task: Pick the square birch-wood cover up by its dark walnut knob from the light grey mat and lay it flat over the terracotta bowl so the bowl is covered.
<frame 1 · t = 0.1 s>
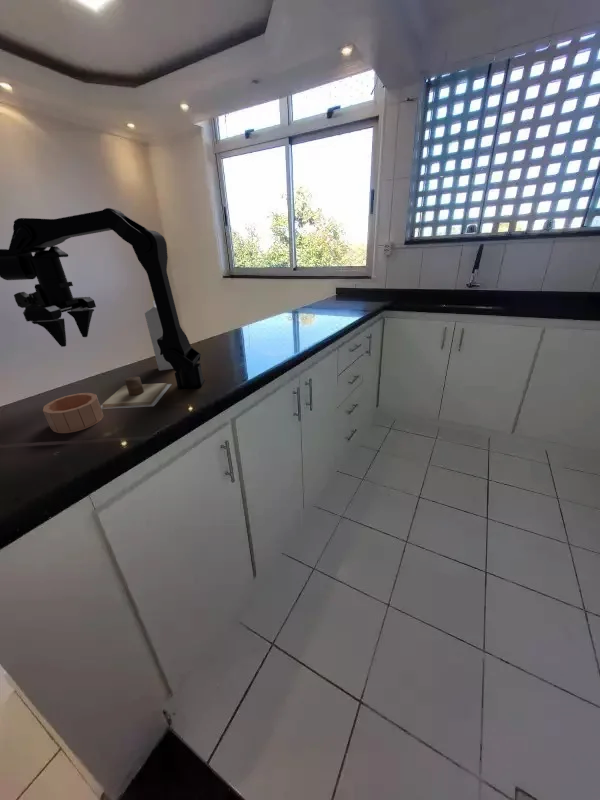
hand: (75, 341, 82), 15 cm above the table, tool pointing down, fingers open, 9 cm apart
cover: (137, 395, 83), point 1 cm above the table, touching mat
bowl: (79, 423, 72), on the table
mat: (137, 397, 84), on the table
milk: (169, 368, 104), on the table
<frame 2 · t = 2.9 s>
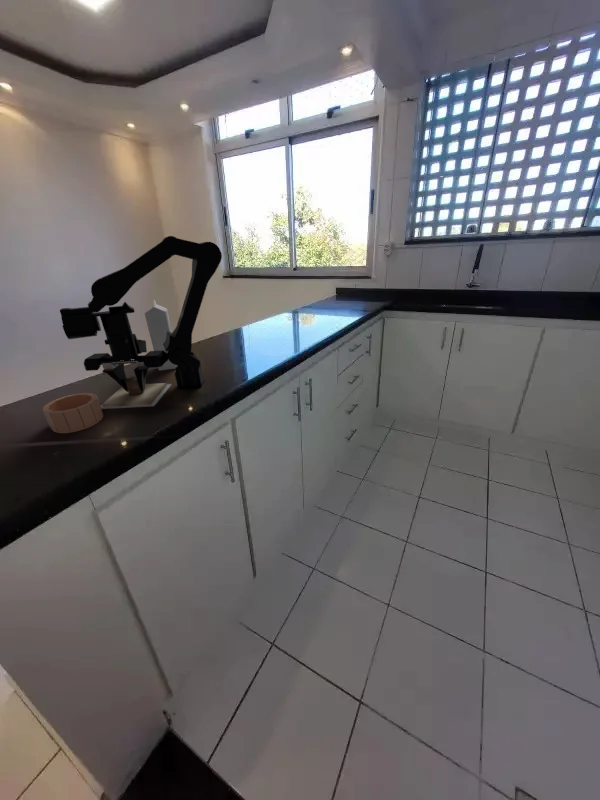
hand: (135, 390, 83), 2 cm above the table, tool pointing down, fingers closed on cover, 4 cm apart
cover: (137, 395, 83), point 1 cm above the table, touching gripper, mat
everything else where it was.
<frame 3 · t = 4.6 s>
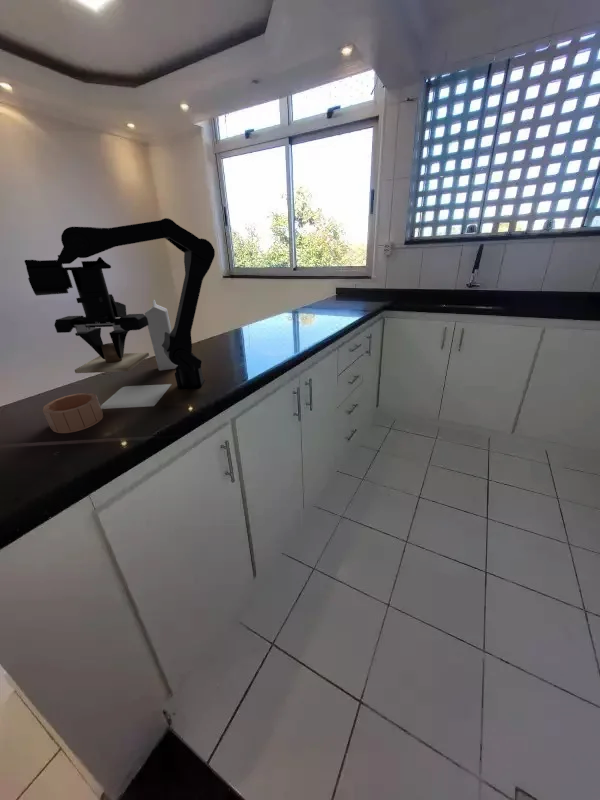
hand: (113, 358, 76), 12 cm above the table, tool pointing down, fingers closed on cover, 4 cm apart
cover: (115, 363, 77), point 11 cm above the table, touching gripper
everything else where it was.
when the fingers open (8 cm above the table, at t = 6.4 s): cover drops 2 cm, resting on bowl.
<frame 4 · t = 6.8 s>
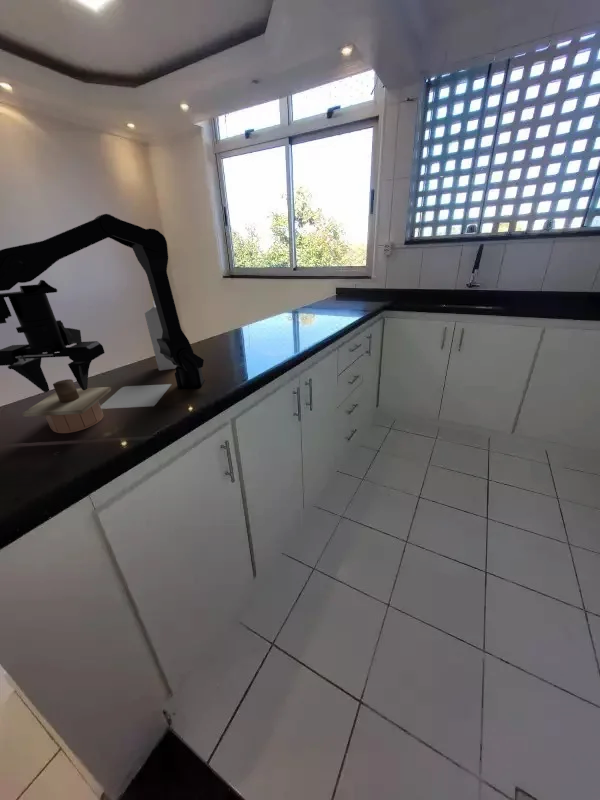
hand: (66, 390, 68), 8 cm above the table, tool pointing down, fingers open, 8 cm apart
cover: (71, 402, 69), point 5 cm above the table, touching bowl
everything else where it was.
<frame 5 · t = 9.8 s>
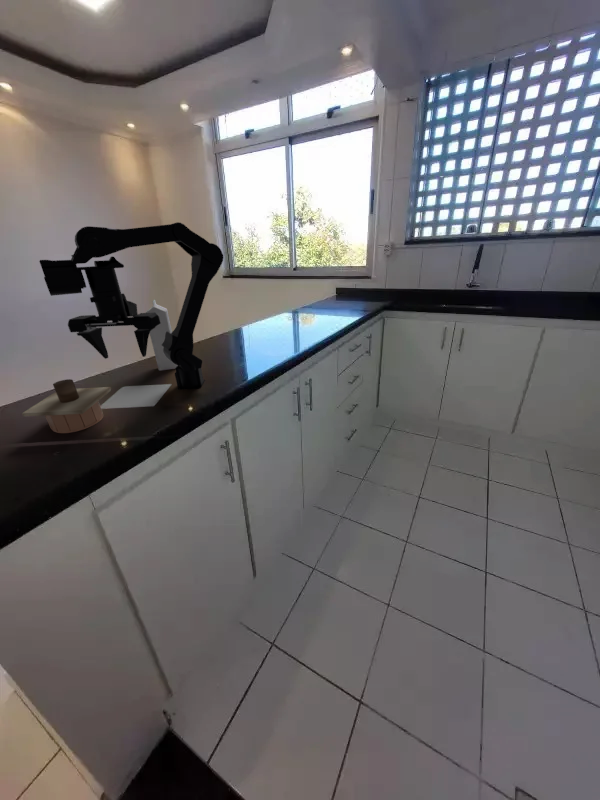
hand: (125, 357, 76), 12 cm above the table, tool pointing down, fingers open, 9 cm apart
nothing on the table moved.
at the end: cover 0.0 cm off-centre on the bowl, point 5.5 cm above the bowl's base; cover tilted 0°; the gripper is holding nothing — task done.
